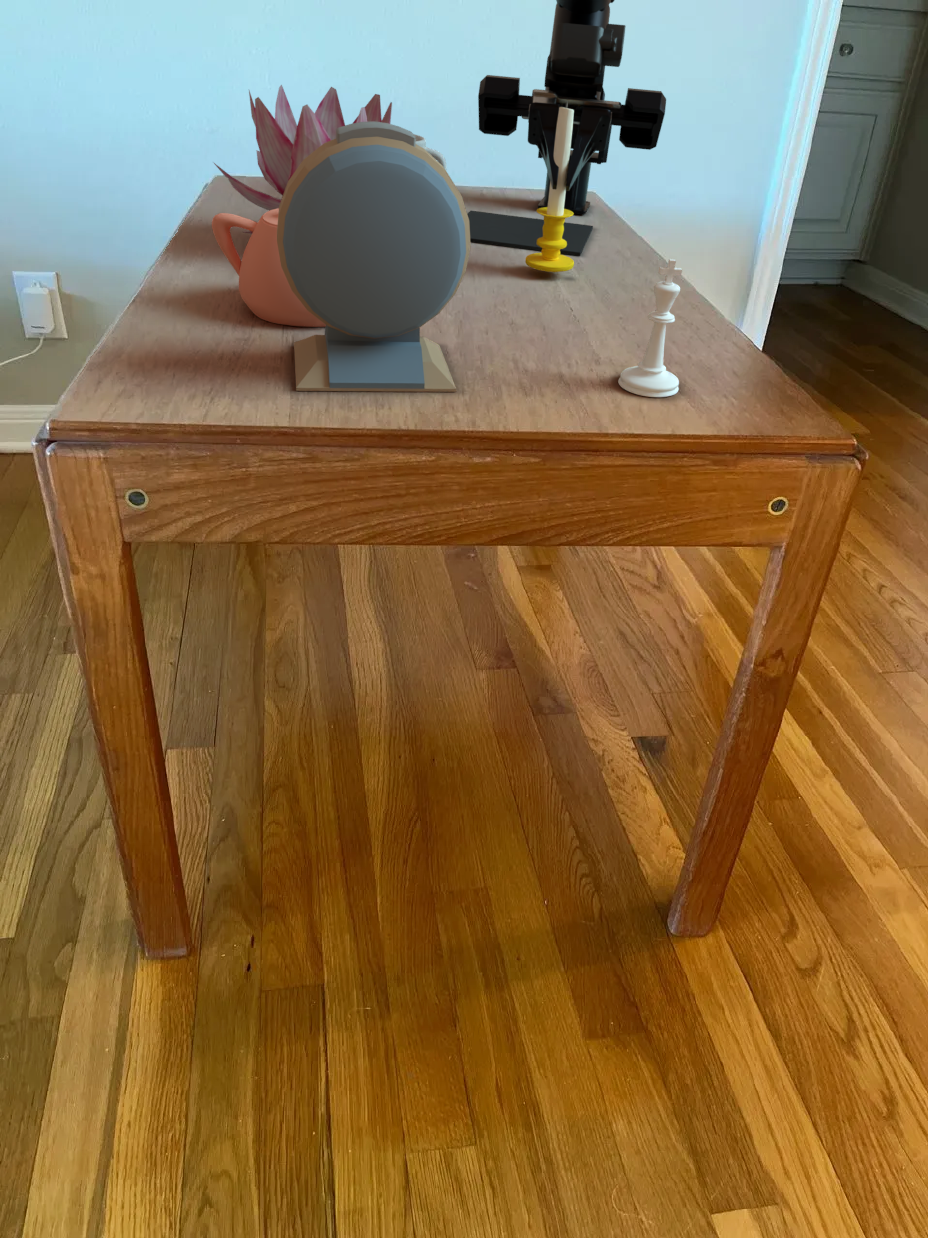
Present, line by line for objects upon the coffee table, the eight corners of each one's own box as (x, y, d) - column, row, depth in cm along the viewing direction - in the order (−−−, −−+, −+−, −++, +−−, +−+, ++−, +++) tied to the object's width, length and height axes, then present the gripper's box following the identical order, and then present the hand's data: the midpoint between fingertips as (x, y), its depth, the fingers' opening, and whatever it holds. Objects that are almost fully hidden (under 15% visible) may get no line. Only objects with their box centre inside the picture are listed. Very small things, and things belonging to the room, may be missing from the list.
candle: (542, 254, 105) (558, 94, 95) (582, 264, 102) (603, 102, 93) (515, 263, 101) (530, 99, 92) (557, 275, 99) (576, 107, 90)
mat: (470, 213, 123) (470, 210, 123) (592, 228, 121) (593, 225, 121) (445, 238, 112) (445, 234, 111) (580, 255, 110) (580, 252, 109)
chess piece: (612, 373, 79) (633, 249, 74) (669, 375, 80) (694, 252, 74) (625, 396, 75) (648, 267, 70) (685, 398, 76) (713, 270, 70)
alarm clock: (450, 347, 82) (465, 117, 71) (469, 391, 74) (488, 140, 64) (281, 345, 79) (272, 106, 69) (282, 390, 71) (271, 129, 61)
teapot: (231, 282, 92) (223, 176, 86) (416, 296, 93) (420, 192, 87) (203, 323, 82) (192, 206, 77) (410, 338, 83) (415, 223, 77)
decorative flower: (182, 258, 97) (166, 92, 89) (280, 217, 114) (274, 74, 106) (374, 292, 93) (377, 120, 84) (447, 244, 109) (456, 96, 101)
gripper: (488, -22, 91) (467, 125, 88) (683, -5, 90) (668, 144, 87) (488, 63, 102) (470, 196, 99) (662, 79, 101) (648, 214, 98)
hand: (561, 187), depth 96 cm, fingers closed on candle
